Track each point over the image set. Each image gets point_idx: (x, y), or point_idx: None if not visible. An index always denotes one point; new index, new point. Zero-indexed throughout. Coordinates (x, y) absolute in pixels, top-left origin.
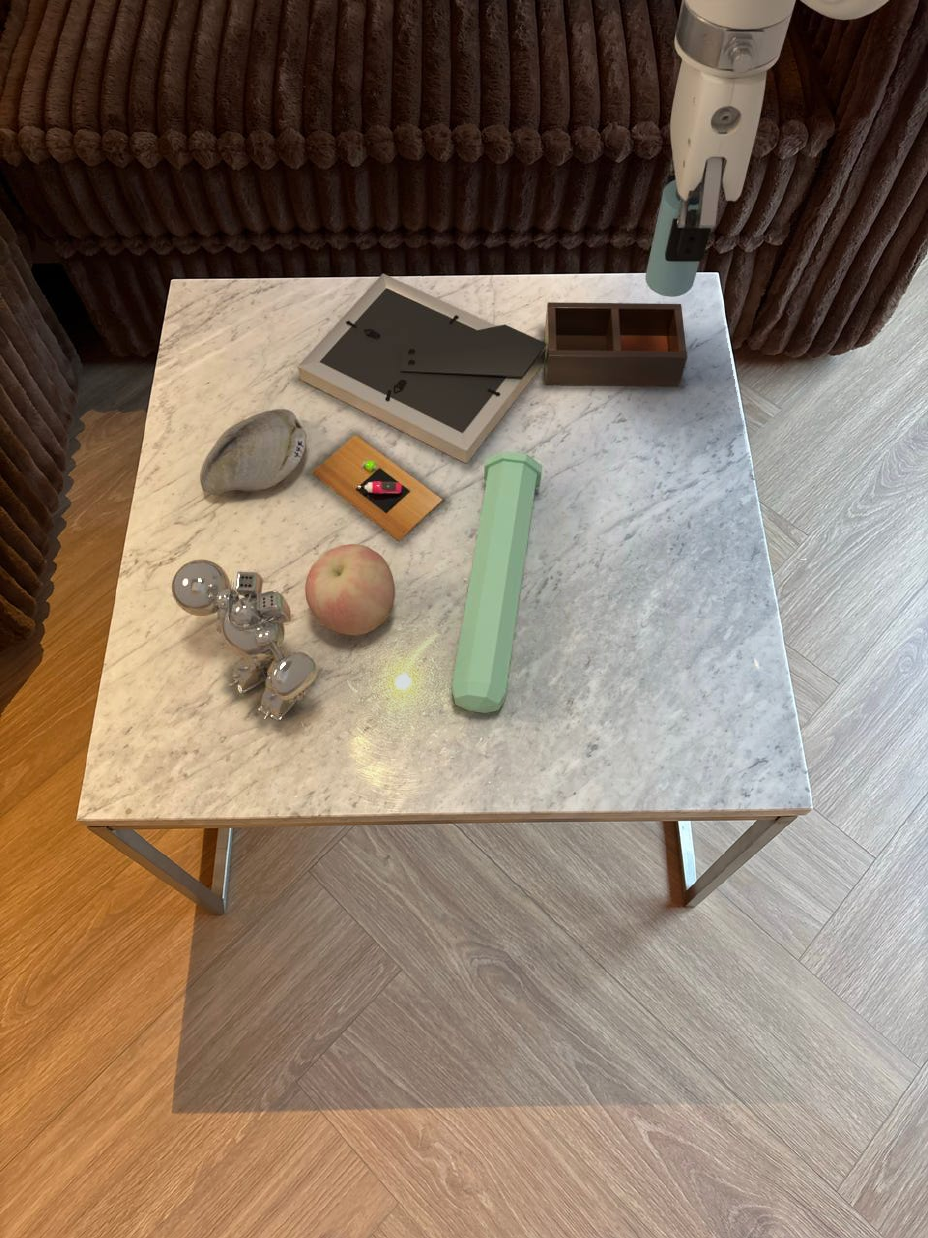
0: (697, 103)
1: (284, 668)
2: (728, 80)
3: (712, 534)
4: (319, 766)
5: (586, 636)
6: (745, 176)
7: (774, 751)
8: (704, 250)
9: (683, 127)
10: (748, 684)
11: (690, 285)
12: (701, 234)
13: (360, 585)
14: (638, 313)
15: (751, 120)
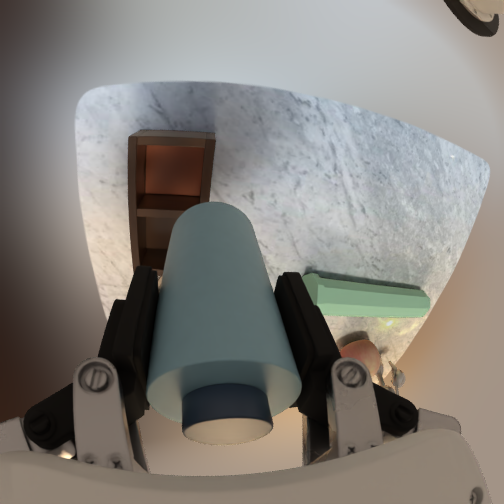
0: None
1: (401, 385)
2: None
3: (378, 147)
4: (402, 341)
5: (409, 246)
6: (488, 492)
7: (479, 167)
8: (306, 289)
9: None
10: (458, 165)
11: (245, 218)
12: (339, 354)
13: (376, 370)
14: (137, 183)
15: None
